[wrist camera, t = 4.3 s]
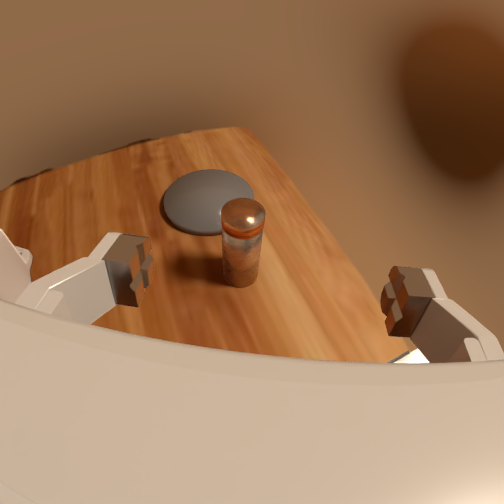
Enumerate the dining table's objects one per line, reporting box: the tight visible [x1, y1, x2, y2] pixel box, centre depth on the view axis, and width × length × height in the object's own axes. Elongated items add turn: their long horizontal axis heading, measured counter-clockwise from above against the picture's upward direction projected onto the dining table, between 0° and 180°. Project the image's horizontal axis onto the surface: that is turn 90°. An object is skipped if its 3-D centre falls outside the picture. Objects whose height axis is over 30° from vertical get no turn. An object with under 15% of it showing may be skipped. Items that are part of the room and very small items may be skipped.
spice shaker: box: [221, 198, 265, 288], centre depth 38 cm, size 5×5×11 cm
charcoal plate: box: [164, 169, 254, 236], centre depth 50 cm, size 14×14×1 cm
